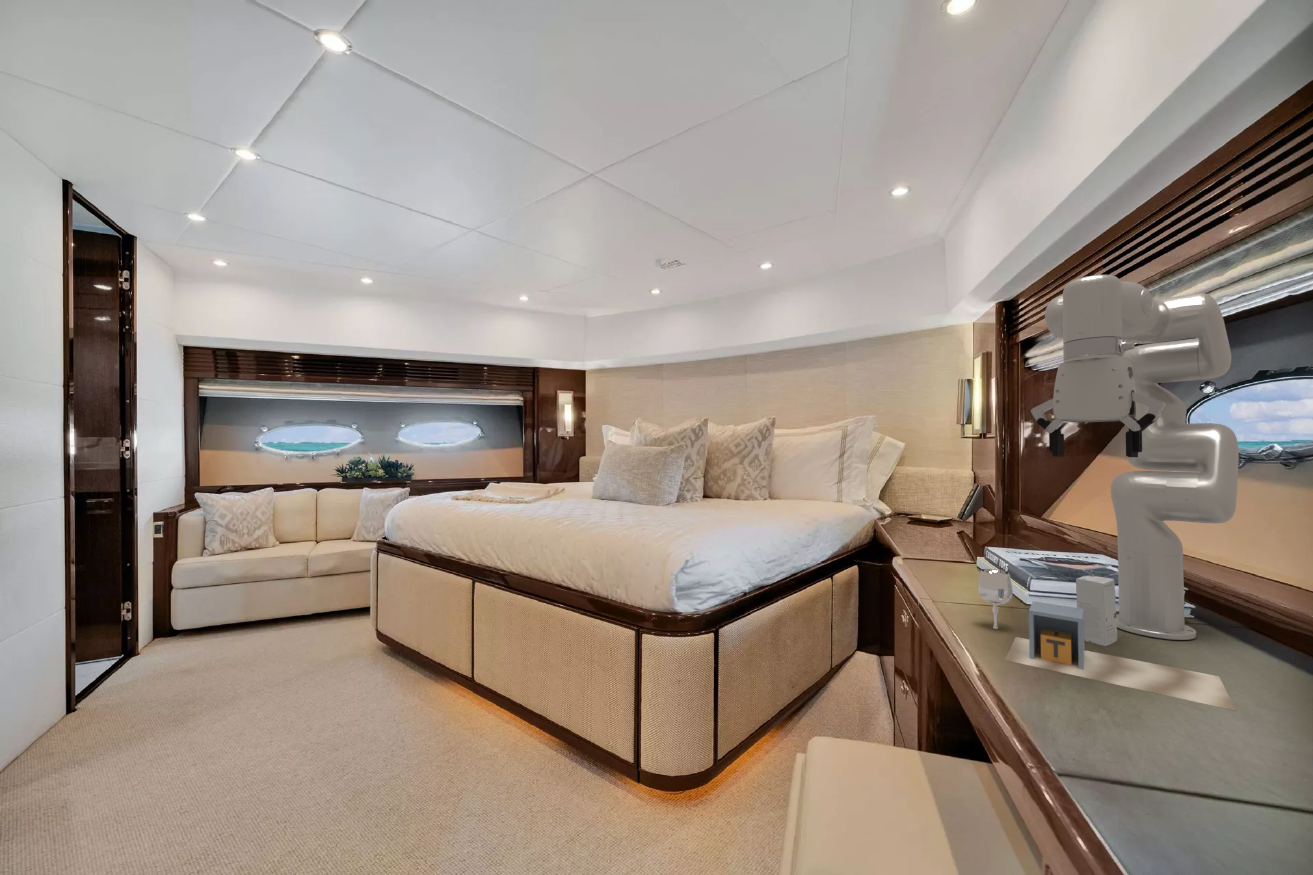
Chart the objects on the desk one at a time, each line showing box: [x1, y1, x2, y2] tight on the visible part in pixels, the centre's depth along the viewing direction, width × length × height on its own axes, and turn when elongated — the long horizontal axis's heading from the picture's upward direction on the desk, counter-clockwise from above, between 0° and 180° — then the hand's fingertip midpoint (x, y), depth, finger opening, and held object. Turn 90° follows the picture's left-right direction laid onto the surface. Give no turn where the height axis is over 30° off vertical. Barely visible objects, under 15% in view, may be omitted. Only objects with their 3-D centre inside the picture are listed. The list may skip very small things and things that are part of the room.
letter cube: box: [1041, 629, 1073, 665], centre depth 88 cm, size 4×4×4 cm
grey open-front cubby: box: [1028, 600, 1086, 670], centre depth 88 cm, size 7×7×8 cm
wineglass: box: [977, 568, 1014, 630], centre depth 103 cm, size 6×6×12 cm
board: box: [1004, 636, 1237, 712], centre depth 84 cm, size 26×14×1 cm, turn 49°
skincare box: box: [1075, 575, 1118, 647], centre depth 97 cm, size 6×4×12 cm
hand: (1093, 456), depth 86 cm, fingers open, 9 cm apart
